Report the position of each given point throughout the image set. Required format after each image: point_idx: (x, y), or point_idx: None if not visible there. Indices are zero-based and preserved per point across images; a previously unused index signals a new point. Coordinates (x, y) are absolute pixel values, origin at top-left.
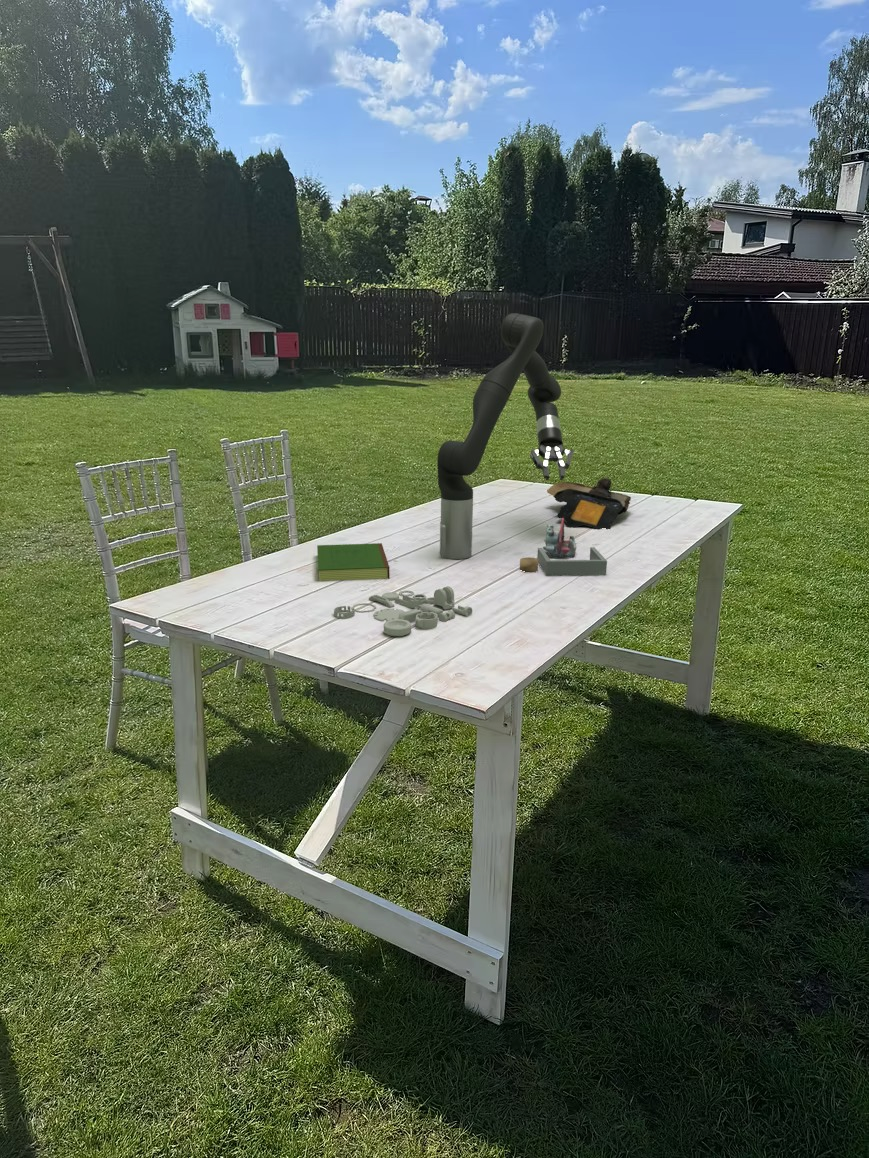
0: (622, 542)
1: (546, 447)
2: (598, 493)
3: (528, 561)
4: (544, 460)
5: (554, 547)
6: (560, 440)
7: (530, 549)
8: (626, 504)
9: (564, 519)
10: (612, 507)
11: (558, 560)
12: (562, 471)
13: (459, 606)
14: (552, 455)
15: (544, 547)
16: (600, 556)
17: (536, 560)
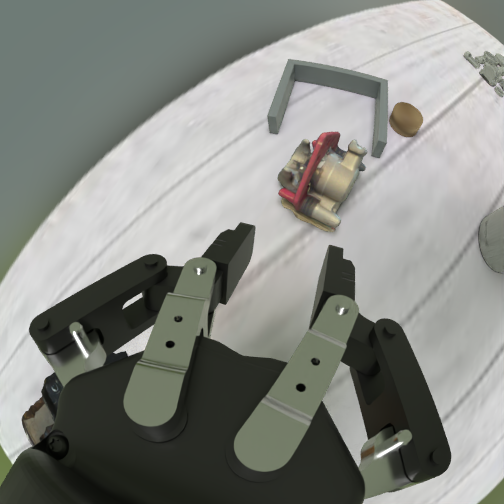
0: (138, 235)
1: (264, 493)
2: None
3: (411, 108)
4: (344, 341)
5: (344, 151)
6: (34, 452)
7: (366, 239)
8: (35, 408)
9: None
10: (61, 389)
11: (367, 77)
12: (231, 238)
13: (475, 64)
14: (239, 371)
15: (363, 164)
16: (287, 74)
17: (397, 107)
